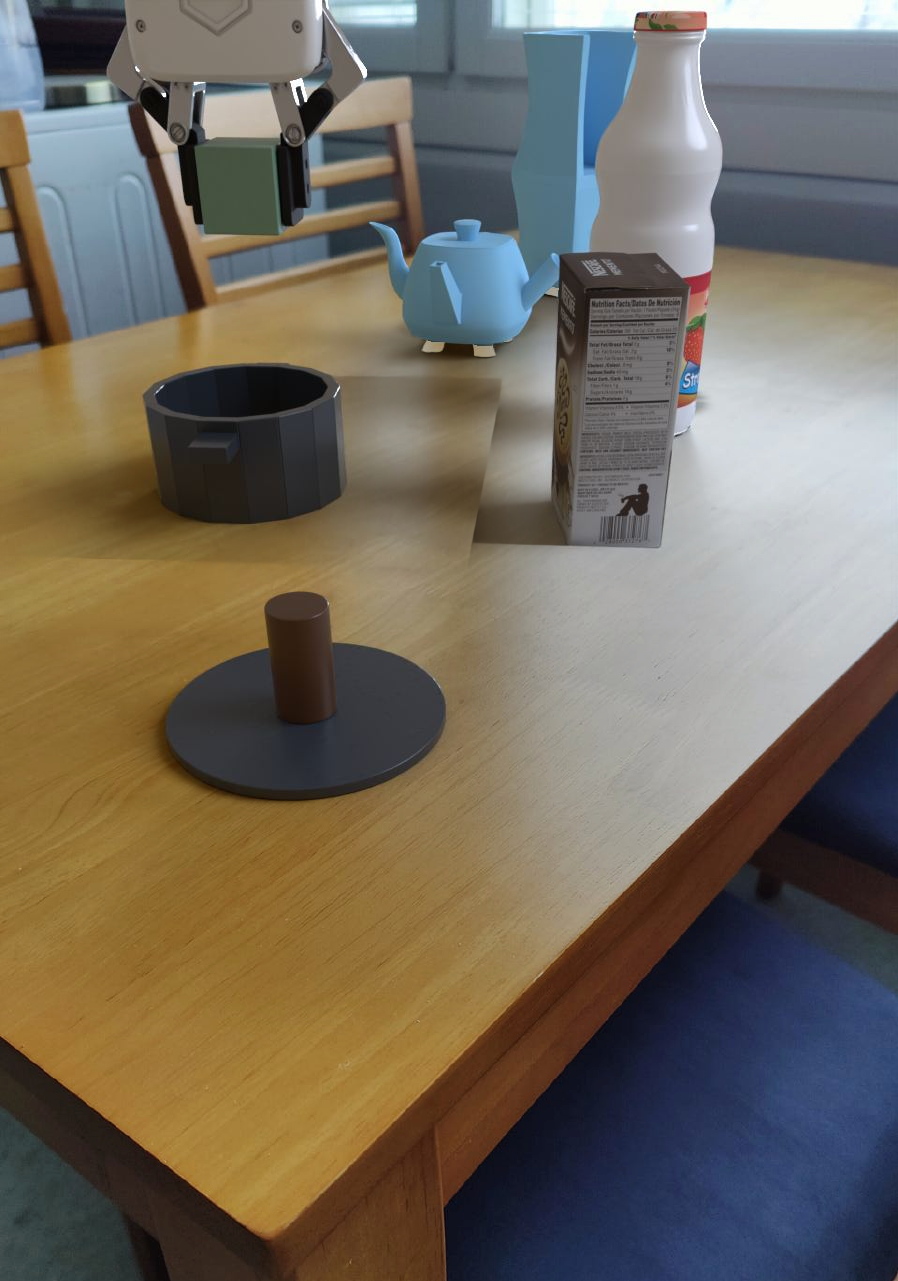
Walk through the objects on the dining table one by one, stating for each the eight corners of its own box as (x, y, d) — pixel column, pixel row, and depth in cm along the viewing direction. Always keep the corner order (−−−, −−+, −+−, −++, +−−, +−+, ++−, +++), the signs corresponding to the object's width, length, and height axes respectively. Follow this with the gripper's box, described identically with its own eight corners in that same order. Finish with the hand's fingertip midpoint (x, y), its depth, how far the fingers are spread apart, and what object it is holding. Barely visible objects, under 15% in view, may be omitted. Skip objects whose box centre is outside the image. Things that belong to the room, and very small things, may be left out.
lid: (131, 803, 51) (102, 673, 47) (210, 656, 62) (192, 540, 58) (431, 818, 50) (427, 686, 46) (457, 665, 61) (456, 548, 57)
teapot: (420, 372, 106) (416, 240, 99) (373, 337, 116) (368, 215, 110) (566, 355, 110) (573, 227, 104) (509, 323, 121) (512, 204, 114)
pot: (127, 566, 72) (101, 433, 67) (202, 466, 86) (186, 351, 81) (321, 572, 71) (310, 437, 66) (365, 470, 85) (359, 353, 80)
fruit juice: (567, 409, 97) (587, 11, 80) (674, 403, 98) (716, 8, 81) (593, 446, 89) (621, 15, 73) (708, 439, 90) (762, 12, 74)
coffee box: (546, 499, 80) (556, 251, 71) (636, 496, 81) (658, 249, 71) (566, 553, 73) (580, 284, 63) (665, 549, 73) (694, 281, 64)
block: (203, 234, 65) (193, 146, 62) (224, 221, 68) (215, 137, 66) (279, 236, 64) (272, 147, 62) (296, 222, 68) (289, 138, 65)
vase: (570, 300, 128) (583, 35, 114) (509, 286, 134) (514, 33, 119) (627, 286, 134) (646, 31, 119) (565, 274, 140) (577, 29, 125)
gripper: (13, -199, 53) (87, 231, 64) (369, -204, 51) (383, 237, 62) (73, -182, 59) (131, 208, 70) (393, -186, 57) (402, 213, 68)
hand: (249, 218), depth 66 cm, fingers closed on block, 4 cm apart
